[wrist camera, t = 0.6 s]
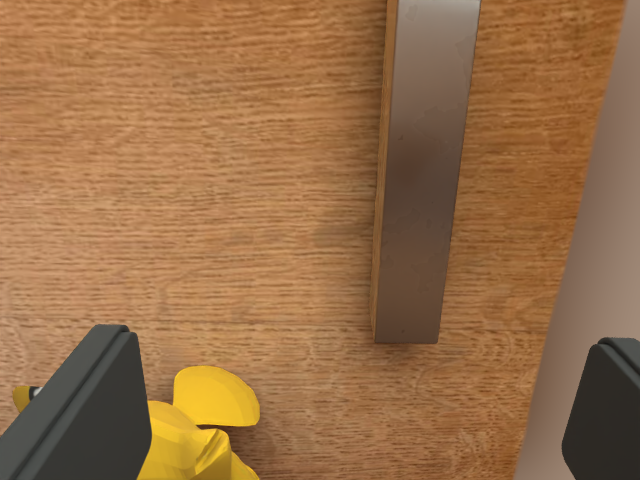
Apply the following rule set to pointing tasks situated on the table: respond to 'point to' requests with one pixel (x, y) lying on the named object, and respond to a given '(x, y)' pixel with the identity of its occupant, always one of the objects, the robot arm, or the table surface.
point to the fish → (192, 426)
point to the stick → (419, 162)
